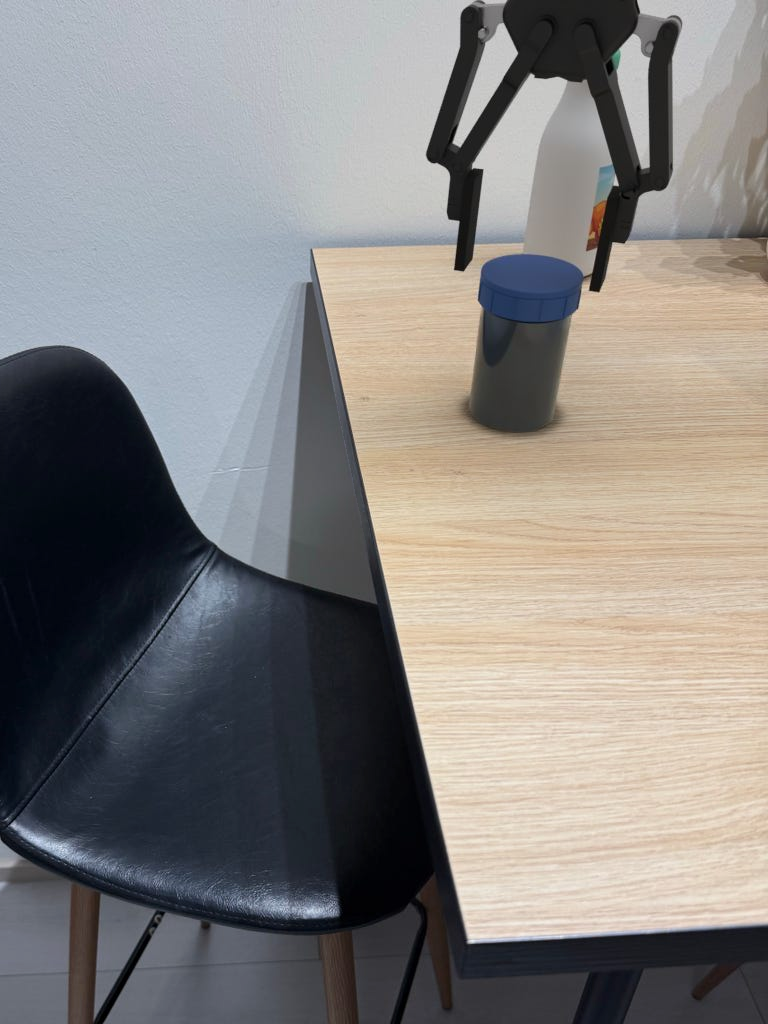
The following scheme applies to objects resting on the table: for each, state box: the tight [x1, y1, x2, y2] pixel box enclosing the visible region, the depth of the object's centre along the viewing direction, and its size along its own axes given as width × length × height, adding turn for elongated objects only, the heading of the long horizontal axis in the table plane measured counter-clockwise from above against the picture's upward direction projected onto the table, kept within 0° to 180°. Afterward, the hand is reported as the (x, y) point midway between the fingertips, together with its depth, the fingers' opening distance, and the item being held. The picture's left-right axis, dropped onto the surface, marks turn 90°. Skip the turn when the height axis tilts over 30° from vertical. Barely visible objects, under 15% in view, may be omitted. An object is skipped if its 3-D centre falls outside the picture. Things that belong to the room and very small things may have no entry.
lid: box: [477, 253, 585, 322], centre depth 77 cm, size 8×8×2 cm
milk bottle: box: [522, 49, 622, 277], centre depth 101 cm, size 8×8×20 cm
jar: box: [468, 305, 573, 433], centre depth 81 cm, size 7×7×11 cm
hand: (528, 274), depth 77 cm, fingers open, 9 cm apart
